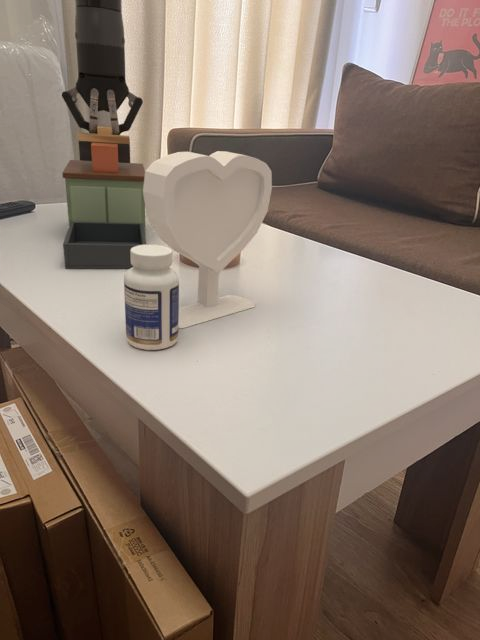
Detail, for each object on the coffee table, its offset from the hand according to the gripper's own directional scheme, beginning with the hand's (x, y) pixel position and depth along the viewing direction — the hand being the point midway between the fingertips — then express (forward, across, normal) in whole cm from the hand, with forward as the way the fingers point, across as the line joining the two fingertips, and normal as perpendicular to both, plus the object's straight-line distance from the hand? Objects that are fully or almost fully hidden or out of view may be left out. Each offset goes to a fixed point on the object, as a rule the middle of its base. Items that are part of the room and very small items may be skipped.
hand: (105, 155), depth 92 cm
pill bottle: (+12, -5, +51) cm, 53 cm away
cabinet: (+12, 0, +6) cm, 13 cm away
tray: (+12, 0, +20) cm, 24 cm away
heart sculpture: (+12, -12, +43) cm, 46 cm away
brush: (0, 0, +2) cm, 2 cm away
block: (+1, 0, +9) cm, 9 cm away
